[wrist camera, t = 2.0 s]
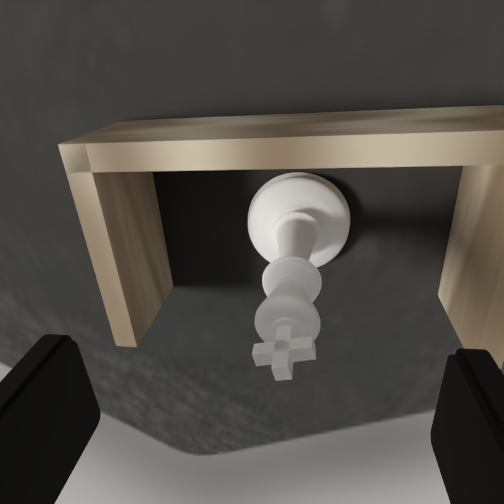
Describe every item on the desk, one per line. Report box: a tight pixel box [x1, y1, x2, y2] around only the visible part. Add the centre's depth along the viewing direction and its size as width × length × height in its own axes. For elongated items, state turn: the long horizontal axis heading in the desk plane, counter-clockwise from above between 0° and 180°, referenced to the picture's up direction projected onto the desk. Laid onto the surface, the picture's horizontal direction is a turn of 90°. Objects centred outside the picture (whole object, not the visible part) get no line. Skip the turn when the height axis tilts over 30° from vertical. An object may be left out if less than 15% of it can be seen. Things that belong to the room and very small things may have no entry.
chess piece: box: [248, 172, 350, 381], centre depth 14 cm, size 5×5×10 cm
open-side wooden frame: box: [58, 105, 504, 369], centre depth 16 cm, size 16×9×5 cm, turn 93°
